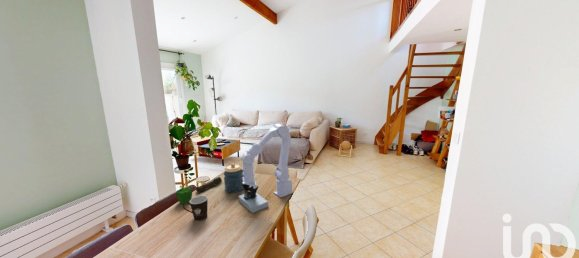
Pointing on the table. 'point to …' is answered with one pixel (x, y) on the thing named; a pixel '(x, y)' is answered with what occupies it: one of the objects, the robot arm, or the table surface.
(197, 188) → the hand tool
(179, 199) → the bell pepper
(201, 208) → the coffee mug
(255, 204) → the slotted pale blue plate
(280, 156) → the robot arm
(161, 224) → the table surface
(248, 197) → the tall dark grey prism
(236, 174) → the canister
